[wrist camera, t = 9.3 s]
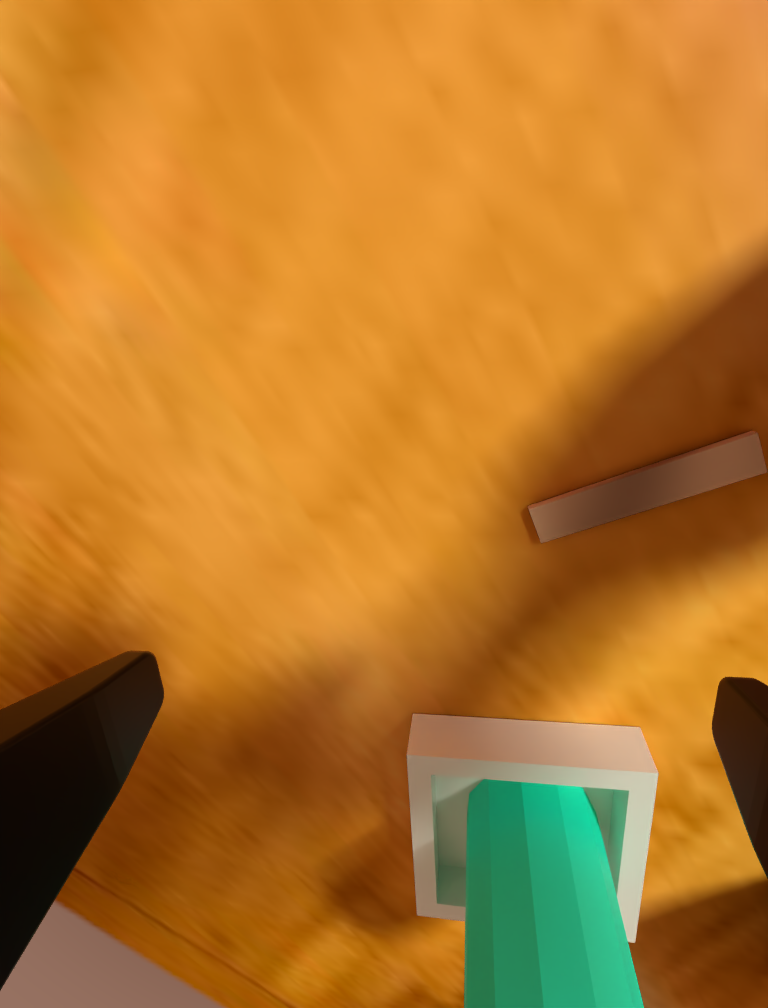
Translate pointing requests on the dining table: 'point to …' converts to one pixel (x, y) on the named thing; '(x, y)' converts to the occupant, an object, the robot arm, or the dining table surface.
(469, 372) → the dining table surface
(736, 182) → the dining table surface
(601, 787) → the white square tray
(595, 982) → the candle
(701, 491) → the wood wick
